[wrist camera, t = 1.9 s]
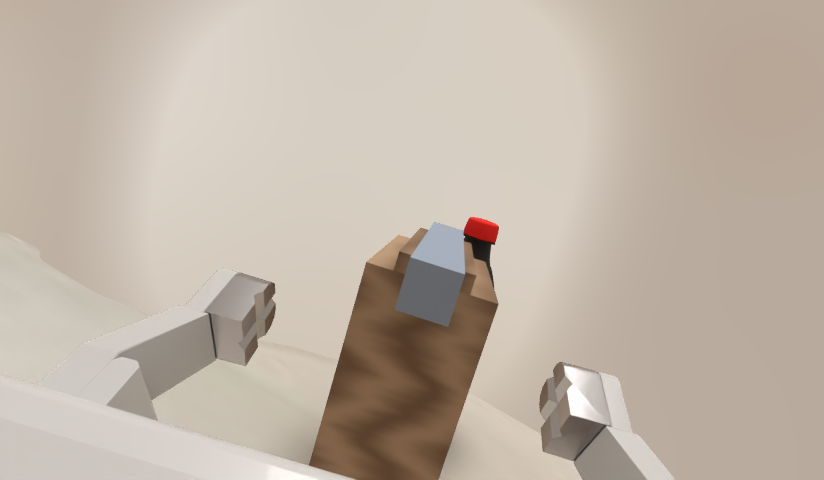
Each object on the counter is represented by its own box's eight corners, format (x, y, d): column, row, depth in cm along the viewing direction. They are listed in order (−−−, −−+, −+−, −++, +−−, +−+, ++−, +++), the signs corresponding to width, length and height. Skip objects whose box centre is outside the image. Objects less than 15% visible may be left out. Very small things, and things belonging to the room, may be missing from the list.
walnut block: (284, 553, 35) (371, 242, 30) (339, 437, 50) (402, 222, 46) (397, 596, 34) (505, 284, 29) (417, 465, 50) (489, 249, 45)
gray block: (394, 309, 22) (410, 257, 22) (425, 250, 42) (434, 221, 41) (447, 326, 22) (465, 274, 22) (454, 259, 42) (463, 230, 41)
